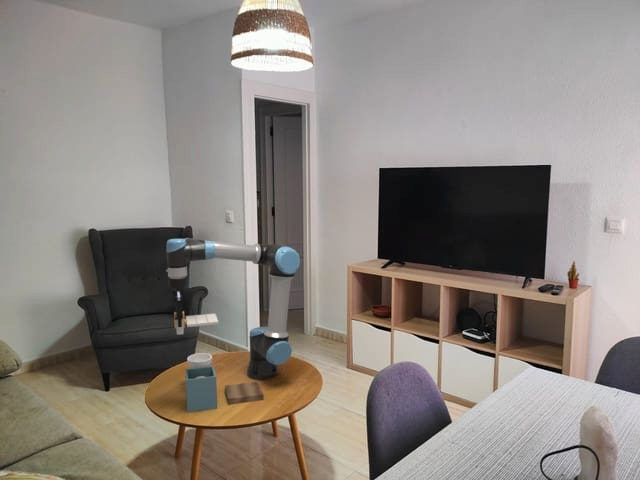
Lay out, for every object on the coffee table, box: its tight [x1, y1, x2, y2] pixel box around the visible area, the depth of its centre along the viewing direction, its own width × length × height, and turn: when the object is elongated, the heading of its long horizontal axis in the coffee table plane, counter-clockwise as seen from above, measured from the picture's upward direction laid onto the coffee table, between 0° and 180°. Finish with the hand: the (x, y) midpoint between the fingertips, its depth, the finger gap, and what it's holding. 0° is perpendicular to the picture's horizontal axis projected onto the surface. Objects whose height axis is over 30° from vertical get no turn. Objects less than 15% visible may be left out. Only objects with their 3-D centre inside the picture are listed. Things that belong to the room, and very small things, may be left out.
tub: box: [184, 365, 218, 414], centre depth 210 cm, size 12×12×14 cm
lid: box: [173, 310, 219, 329], centre depth 206 cm, size 17×12×6 cm
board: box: [224, 381, 265, 406], centre depth 219 cm, size 15×14×2 cm
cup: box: [186, 352, 213, 369], centre depth 227 cm, size 11×11×14 cm
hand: (180, 332), depth 204 cm, fingers closed on lid, 3 cm apart
